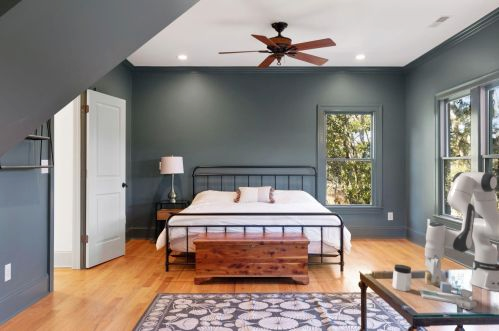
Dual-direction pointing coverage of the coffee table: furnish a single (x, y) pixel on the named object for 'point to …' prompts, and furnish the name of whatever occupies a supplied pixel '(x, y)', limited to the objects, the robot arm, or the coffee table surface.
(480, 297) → the coffee table surface
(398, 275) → the jar
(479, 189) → the robot arm
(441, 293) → the board
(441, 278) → the die
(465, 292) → the stamp
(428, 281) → the block oak
